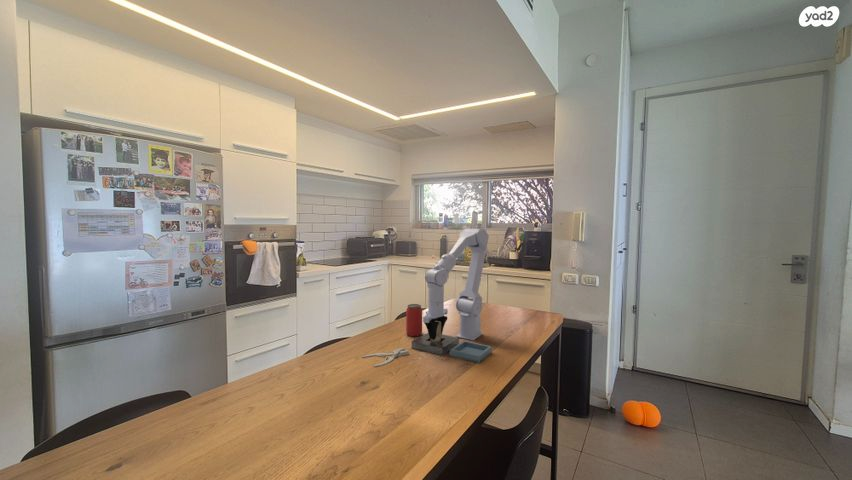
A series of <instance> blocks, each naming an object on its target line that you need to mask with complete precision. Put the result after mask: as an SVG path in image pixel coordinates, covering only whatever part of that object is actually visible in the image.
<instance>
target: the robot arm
mask: <svg viewBox="0 0 852 480" xmlns="http://www.w3.org/2000/svg"><path fill="white" fill-rule="evenodd" d="M458 237H459V238H458V239H457V241H456V243H455V244H454V245H453V247H452V248H451V250H450V252H449V253H444V254H442V256H441V257H440V259H439V261H437V263H436V264H435V265H434V266H433V268H431V269H429V270H428V271H427V272H426V274H425V276H424V279H425V282H426V283H427V284H426V286H427V288H428V290H427V291H428V292H427V293H428V295H427V296H428V297H427V299H428V302H427V303H428V307H427V309H428V310H427V311H425V315H424V316H422V323H424V325H425V327H426V329H427V333H429V337H430V339H433V340H435V339H436V332H437V327H438V324H439V322H437V321H440V322H441V336H442V334H443V332H444V328H445V325H446V322H447V320H448V316H447V315H448V309H447V308H444V306H445V304H444V303H445V302H444V298H445V295H444V293H445V288H444V287H445V285H446V283H447V282H448V278H449V277H448V276H450V275H449V274H450V273H451V271H452V270H453V269H454V267H455V266H456V264H457V259H458V257H459V256H460V255H461V254H462V253H463V252H464V251H465V250H466V248H468V249H469V250H471V256H470V257H471V258H470V262H469V268H468V272H467V278H466V283H465V287H464V290H461V292H460V293H459V295H458V298H457V300H456V301H455V309H456V310H457V311H458V314H459V333H458V334H457V333H456V335H455V337H457V338H459V339H460V338H461V339H465V340H469V341H475V340H476V339H478V338H479V337H481V336H482V335H483V334H484V333H483V332H482V331H481V326H482V323H481V322H482V321H481V320H482V319H481V316H480V315H481V313H482V310H483V304H482V303H483V297H482V296H481V295H480V293H479V289H480V288H479V287H480V284H481V279H482V273H483V269H484V264H485V259H486V254H487V247H488V242H489V234H488V232H487V230H486V229H485V228H483V227H482V228H469V227H464V228H463V229H462V230H461V232H460V233H459V235H458ZM445 315H446V316H445Z"/></svg>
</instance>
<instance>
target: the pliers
mask: <svg viewBox="0 0 852 480" xmlns="http://www.w3.org/2000/svg"><path fill="white" fill-rule="evenodd" d="M409 352H410V350H408V349H407V350H406V348H405V347H400V348H397V349H394V350H392V352H389V353H386V352H379V353H378V352H377V353H370V354H365V355H362V356H361V358H362V359H364V358H370V357H378V358H384V361H383V362H380V363H376V364H375V365H374V364H373V367H374V368H376V367H381V366H384V365H388V364H389V363H391V362H393V361H394V359H395V358H397V357H401V356H407V355H409V354H410V353H409ZM388 356H389V358H388Z"/></svg>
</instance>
